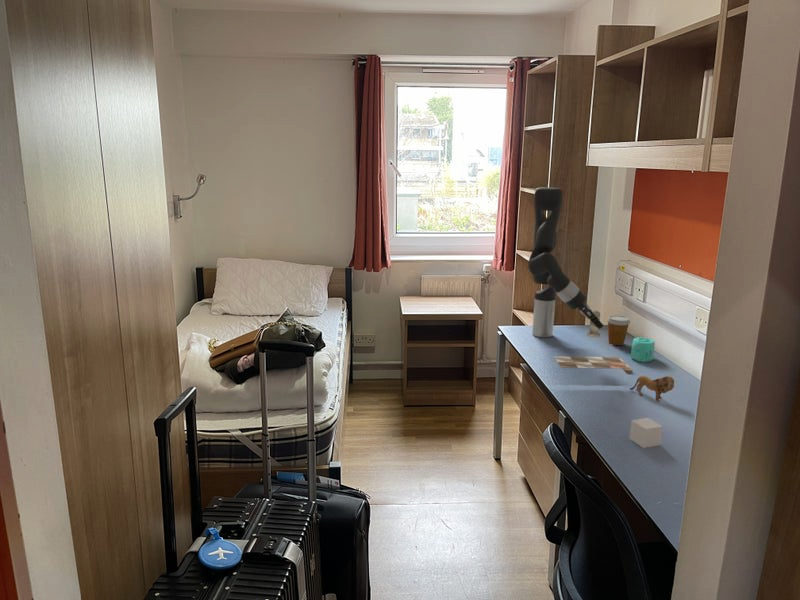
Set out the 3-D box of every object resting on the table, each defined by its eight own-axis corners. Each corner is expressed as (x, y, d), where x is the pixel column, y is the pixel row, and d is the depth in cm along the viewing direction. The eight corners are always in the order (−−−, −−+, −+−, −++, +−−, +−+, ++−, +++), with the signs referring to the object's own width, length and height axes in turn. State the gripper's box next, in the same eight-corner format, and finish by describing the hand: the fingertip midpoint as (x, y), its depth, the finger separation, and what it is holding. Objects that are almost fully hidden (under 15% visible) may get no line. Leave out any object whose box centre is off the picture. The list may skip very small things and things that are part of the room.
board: (550, 358, 241) (550, 355, 241) (618, 359, 241) (619, 356, 240) (559, 372, 226) (559, 368, 226) (632, 373, 226) (632, 369, 226)
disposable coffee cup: (618, 339, 266) (621, 314, 263) (632, 346, 257) (635, 320, 255) (600, 341, 264) (602, 315, 261) (613, 348, 255) (616, 321, 252)
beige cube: (645, 436, 176) (647, 417, 175) (660, 445, 171) (662, 426, 169) (629, 438, 174) (631, 420, 173) (643, 448, 169) (645, 429, 167)
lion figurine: (674, 400, 202) (677, 376, 199) (668, 405, 198) (672, 380, 196) (632, 388, 211) (634, 365, 209) (626, 392, 208) (628, 369, 205)
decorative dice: (630, 360, 241) (632, 341, 239) (632, 354, 247) (634, 336, 245) (651, 363, 237) (653, 344, 235) (652, 357, 244) (655, 339, 242)
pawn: (585, 333, 229) (587, 308, 227) (597, 333, 229) (600, 309, 227) (588, 337, 225) (591, 312, 222) (601, 337, 225) (604, 312, 222)
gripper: (583, 292, 216) (613, 324, 218) (573, 283, 229) (601, 314, 232) (567, 306, 217) (597, 337, 220) (558, 296, 231) (587, 326, 234)
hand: (599, 325), depth 226 cm, fingers closed on pawn, 3 cm apart
